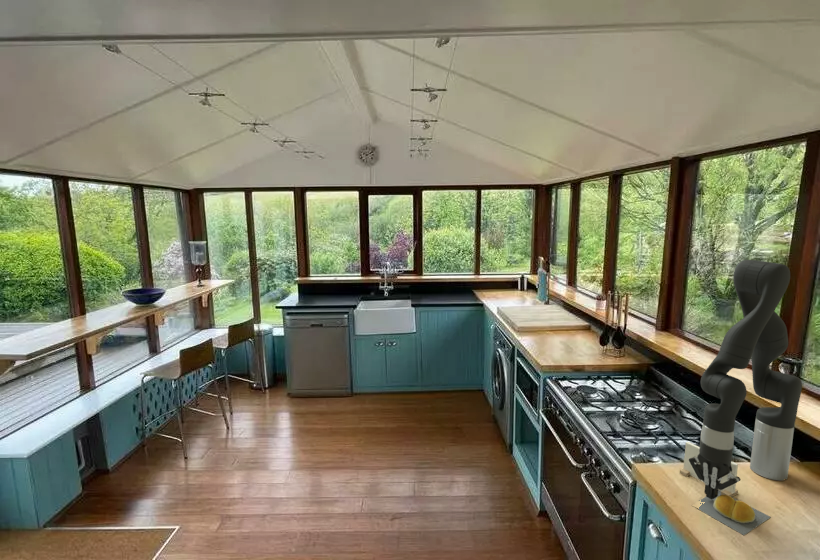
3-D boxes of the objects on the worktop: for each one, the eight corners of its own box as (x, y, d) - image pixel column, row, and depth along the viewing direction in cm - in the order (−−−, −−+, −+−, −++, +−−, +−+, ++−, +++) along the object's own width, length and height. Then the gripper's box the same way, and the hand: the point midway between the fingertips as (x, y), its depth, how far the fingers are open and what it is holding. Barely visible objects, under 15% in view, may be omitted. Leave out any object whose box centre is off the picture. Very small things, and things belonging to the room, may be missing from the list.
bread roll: (751, 529, 111) (753, 515, 110) (710, 512, 117) (712, 499, 116) (757, 514, 116) (759, 501, 115) (718, 498, 123) (719, 486, 122)
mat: (718, 490, 126) (718, 489, 126) (770, 517, 115) (770, 516, 115) (691, 505, 120) (691, 504, 120) (743, 535, 109) (743, 534, 109)
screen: (688, 468, 137) (691, 440, 136) (737, 493, 125) (741, 462, 123) (679, 473, 135) (682, 444, 134) (728, 498, 123) (732, 467, 121)
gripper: (750, 449, 115) (743, 507, 118) (699, 428, 127) (694, 481, 129) (736, 456, 112) (729, 515, 114) (684, 434, 123) (679, 488, 126)
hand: (710, 497), depth 122 cm, fingers closed
